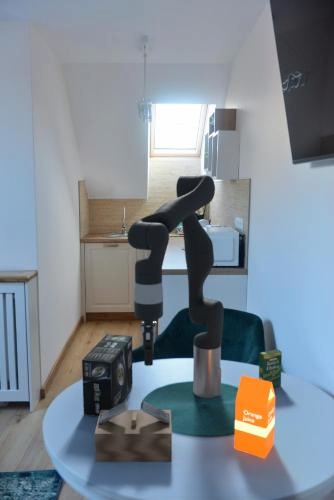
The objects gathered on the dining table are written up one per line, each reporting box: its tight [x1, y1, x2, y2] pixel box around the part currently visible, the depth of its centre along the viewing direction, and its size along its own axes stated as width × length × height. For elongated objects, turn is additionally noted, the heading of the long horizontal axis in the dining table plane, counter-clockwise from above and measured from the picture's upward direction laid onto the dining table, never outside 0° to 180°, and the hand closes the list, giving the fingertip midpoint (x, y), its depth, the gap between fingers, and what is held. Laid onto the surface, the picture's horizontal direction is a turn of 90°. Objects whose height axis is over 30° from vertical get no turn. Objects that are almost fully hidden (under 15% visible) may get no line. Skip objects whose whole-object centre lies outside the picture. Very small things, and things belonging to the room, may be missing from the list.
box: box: [81, 333, 134, 417], centre depth 148 cm, size 23×10×19 cm, turn 168°
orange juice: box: [233, 374, 276, 459], centre depth 121 cm, size 8×9×20 cm
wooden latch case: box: [94, 409, 173, 463], centre depth 121 cm, size 20×12×10 cm, turn 91°
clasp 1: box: [97, 400, 129, 425], centre depth 120 cm, size 8×4×1 cm, turn 89°
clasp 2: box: [140, 400, 170, 425], centre depth 120 cm, size 8×4×1 cm, turn 92°
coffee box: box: [258, 348, 283, 388], centre depth 158 cm, size 8×3×13 cm, turn 112°
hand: (148, 360), depth 118 cm, fingers open, 4 cm apart
